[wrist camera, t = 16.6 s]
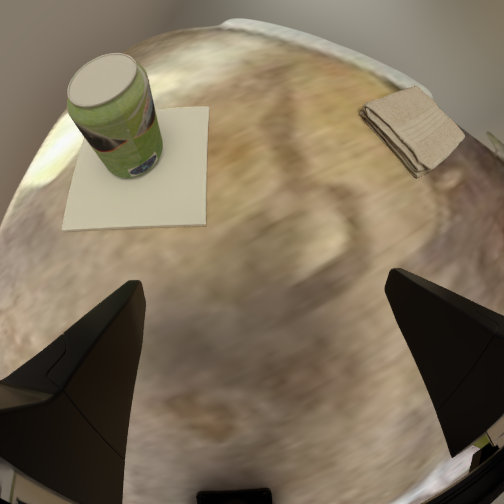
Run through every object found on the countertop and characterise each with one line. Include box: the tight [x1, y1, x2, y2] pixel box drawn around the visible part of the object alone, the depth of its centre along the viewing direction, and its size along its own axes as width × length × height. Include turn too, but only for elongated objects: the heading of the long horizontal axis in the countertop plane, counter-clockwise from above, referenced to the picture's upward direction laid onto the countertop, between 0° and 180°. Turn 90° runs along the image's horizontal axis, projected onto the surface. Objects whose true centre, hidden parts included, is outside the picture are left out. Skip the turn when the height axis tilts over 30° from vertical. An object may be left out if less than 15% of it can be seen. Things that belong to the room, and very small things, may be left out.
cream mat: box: [62, 106, 209, 232], centre depth 25 cm, size 14×14×1 cm
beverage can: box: [67, 53, 163, 178], centre depth 19 cm, size 6×7×12 cm
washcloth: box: [358, 86, 465, 178], centre depth 31 cm, size 12×18×3 cm, turn 128°
